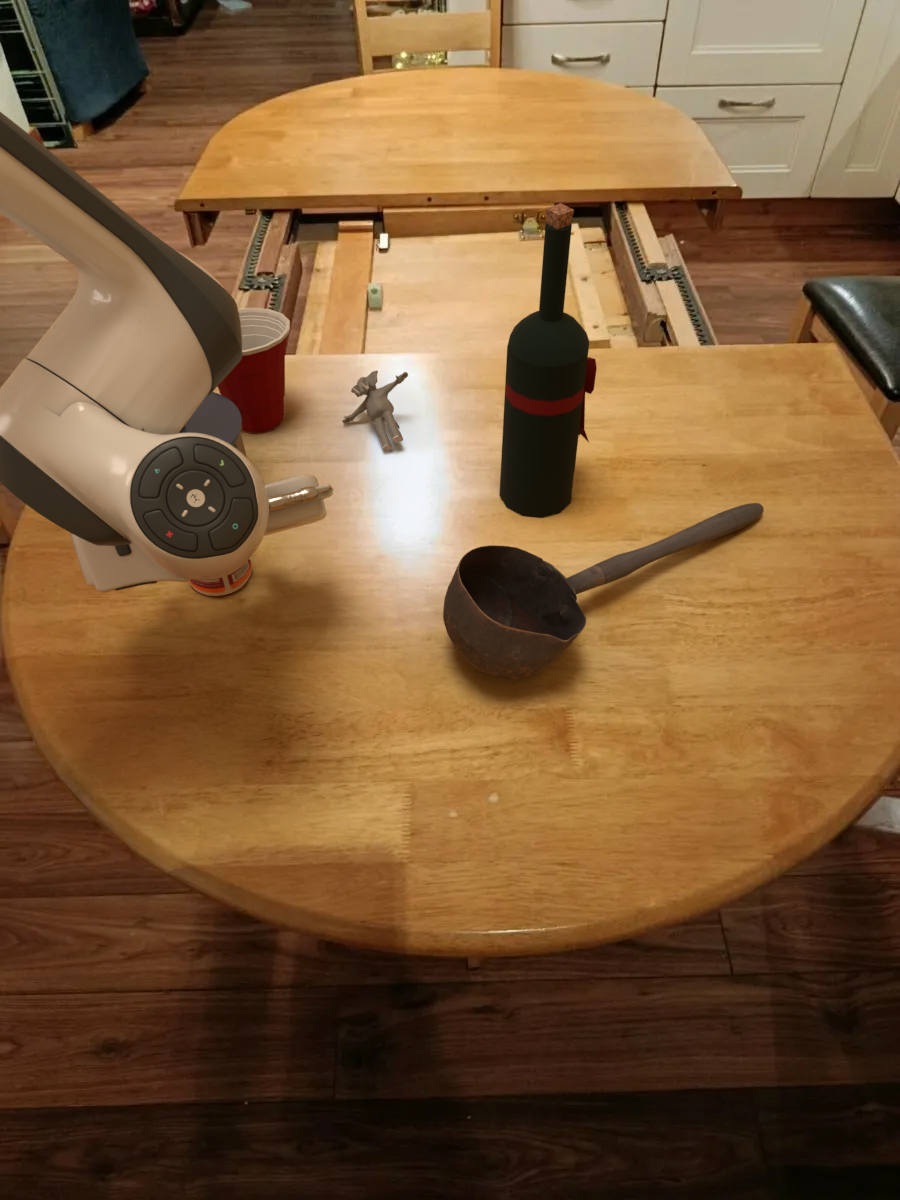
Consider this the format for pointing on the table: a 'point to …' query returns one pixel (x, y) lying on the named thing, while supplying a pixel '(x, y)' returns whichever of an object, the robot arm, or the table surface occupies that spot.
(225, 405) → the pot lid
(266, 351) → the plastic cup
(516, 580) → the ladle
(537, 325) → the wine bottle
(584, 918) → the table surface
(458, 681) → the table surface
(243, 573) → the pill bottle
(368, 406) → the elephant figurine
